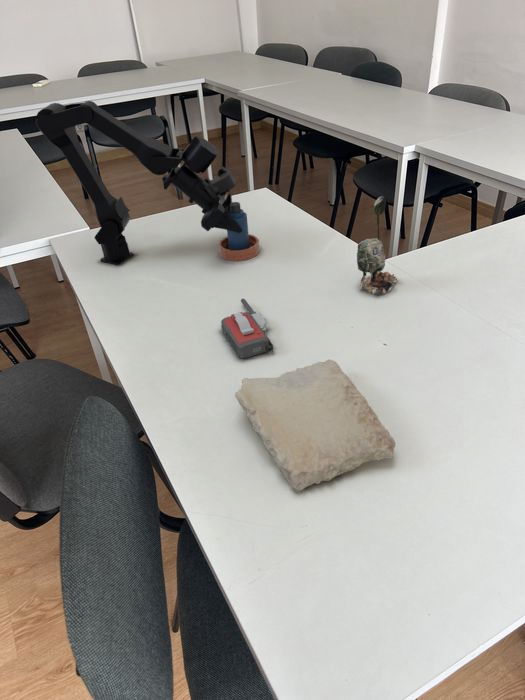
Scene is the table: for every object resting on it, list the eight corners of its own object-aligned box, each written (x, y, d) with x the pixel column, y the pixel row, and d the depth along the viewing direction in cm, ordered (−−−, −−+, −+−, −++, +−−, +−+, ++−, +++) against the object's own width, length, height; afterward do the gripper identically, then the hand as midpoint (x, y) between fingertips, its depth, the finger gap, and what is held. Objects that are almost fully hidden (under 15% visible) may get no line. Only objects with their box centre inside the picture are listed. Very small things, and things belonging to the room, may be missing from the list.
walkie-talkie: (283, 351, 102) (247, 303, 118) (282, 332, 100) (245, 286, 115) (241, 364, 100) (210, 313, 115) (239, 345, 98) (207, 296, 113)
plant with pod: (344, 287, 120) (346, 203, 108) (382, 272, 125) (388, 189, 113) (367, 302, 115) (372, 214, 103) (406, 285, 119) (415, 200, 107)
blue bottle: (225, 254, 137) (219, 206, 129) (236, 245, 141) (230, 198, 133) (243, 257, 135) (238, 209, 127) (253, 248, 139) (249, 201, 131)
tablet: (273, 505, 75) (401, 459, 77) (264, 470, 70) (400, 423, 73) (233, 401, 94) (337, 367, 97) (224, 369, 90) (333, 334, 92)
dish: (218, 263, 134) (216, 252, 132) (222, 245, 143) (221, 234, 141) (258, 261, 134) (257, 250, 132) (260, 243, 142) (259, 232, 140)
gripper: (208, 174, 117) (261, 219, 122) (218, 149, 132) (265, 190, 137) (179, 210, 122) (231, 251, 128) (192, 182, 137) (238, 220, 143)
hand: (242, 226), depth 134 cm, fingers closed on blue bottle, 5 cm apart
